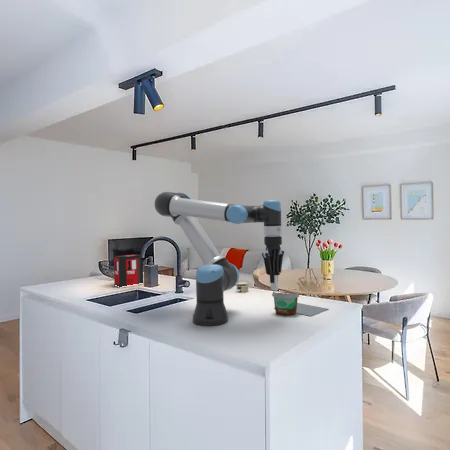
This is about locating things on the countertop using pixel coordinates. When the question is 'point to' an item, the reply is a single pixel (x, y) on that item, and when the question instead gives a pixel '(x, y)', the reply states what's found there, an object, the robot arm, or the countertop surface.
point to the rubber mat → (308, 309)
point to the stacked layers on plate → (242, 287)
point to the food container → (285, 303)
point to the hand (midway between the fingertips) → (274, 290)
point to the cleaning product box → (128, 270)
